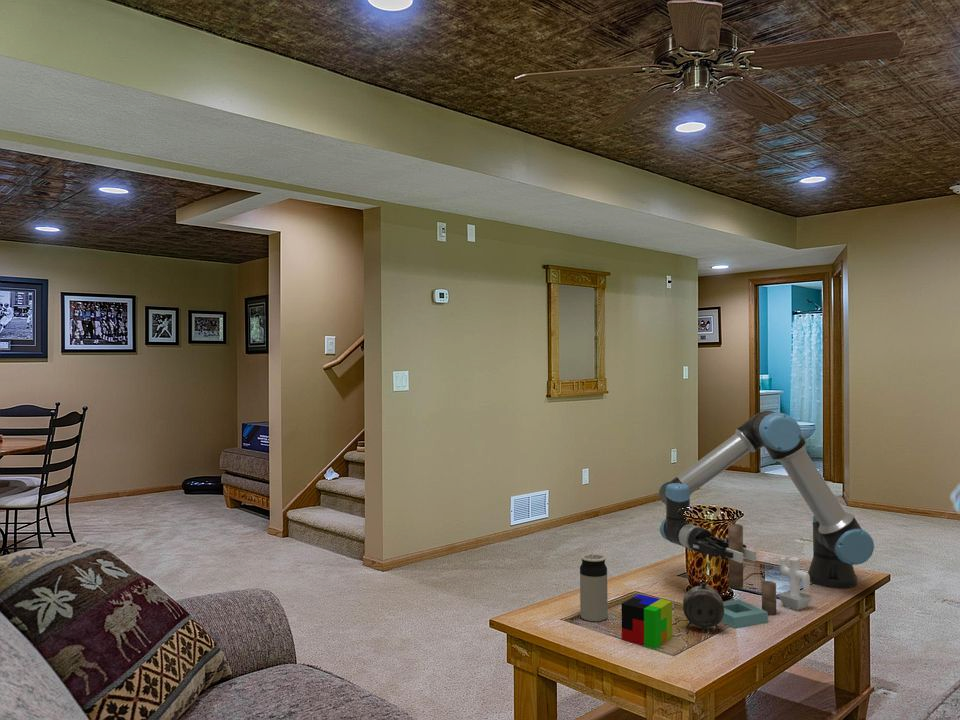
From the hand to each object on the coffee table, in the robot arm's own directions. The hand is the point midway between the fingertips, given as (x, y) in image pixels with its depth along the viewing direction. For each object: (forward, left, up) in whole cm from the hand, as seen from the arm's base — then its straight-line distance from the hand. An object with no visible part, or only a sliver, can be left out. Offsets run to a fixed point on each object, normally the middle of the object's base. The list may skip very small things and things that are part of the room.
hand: (748, 557), depth 209 cm
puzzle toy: (+33, -2, -20) cm, 38 cm away
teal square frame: (0, -5, -19) cm, 20 cm away
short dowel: (-12, -5, -19) cm, 23 cm away
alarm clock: (+15, -1, -19) cm, 25 cm away
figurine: (-23, -6, -19) cm, 31 cm away
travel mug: (+38, -22, -19) cm, 48 cm away
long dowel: (0, -5, -10) cm, 11 cm away
